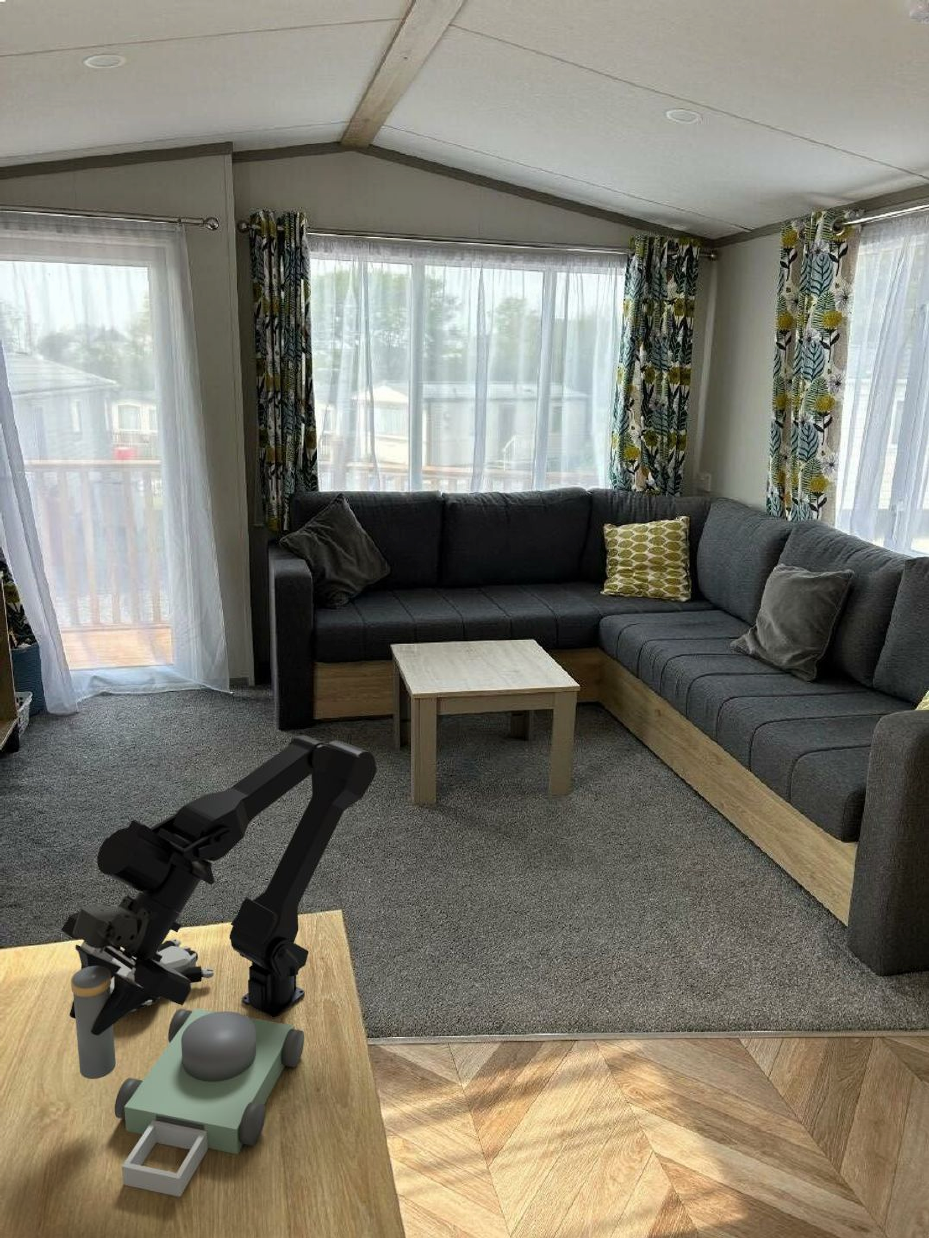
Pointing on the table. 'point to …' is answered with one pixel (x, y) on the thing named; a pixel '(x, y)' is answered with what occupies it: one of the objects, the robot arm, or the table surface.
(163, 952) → the robot toy
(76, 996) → the grey banded cylinder
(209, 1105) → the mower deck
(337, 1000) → the table surface
